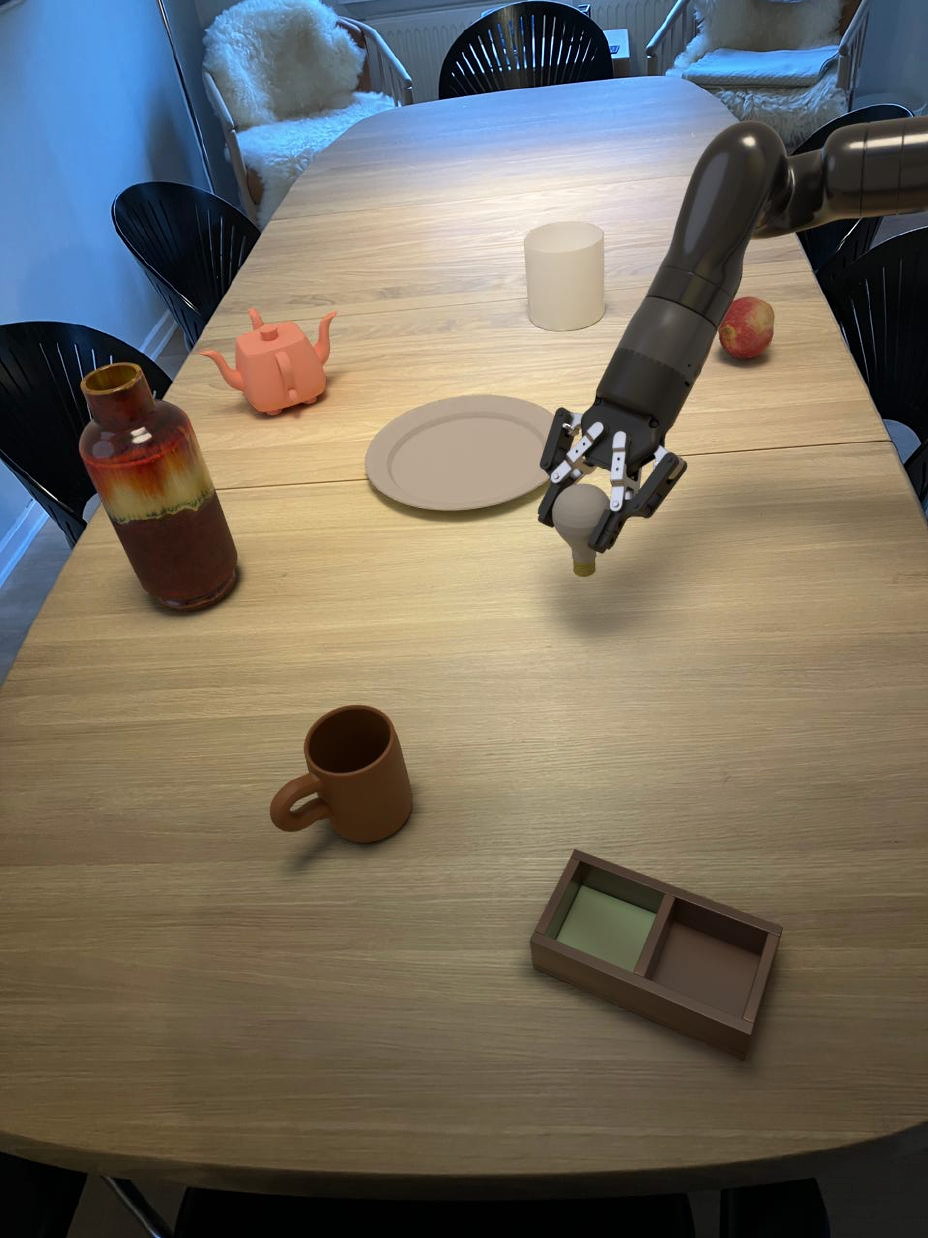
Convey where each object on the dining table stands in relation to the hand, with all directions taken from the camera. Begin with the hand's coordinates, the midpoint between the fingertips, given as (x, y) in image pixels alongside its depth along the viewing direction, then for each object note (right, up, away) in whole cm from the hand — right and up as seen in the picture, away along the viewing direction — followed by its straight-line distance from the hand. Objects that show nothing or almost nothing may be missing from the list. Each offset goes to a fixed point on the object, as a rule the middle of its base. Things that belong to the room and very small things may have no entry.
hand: (570, 536), depth 84 cm
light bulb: (+2, -3, +5) cm, 6 cm away
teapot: (-36, +25, +51) cm, 67 cm away
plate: (-9, +12, +33) cm, 36 cm away
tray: (+4, -32, -17) cm, 37 cm away
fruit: (+29, +29, +44) cm, 60 cm away
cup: (+6, +40, +59) cm, 72 cm away
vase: (-40, -4, +21) cm, 45 cm away
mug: (-19, -25, -5) cm, 32 cm away
